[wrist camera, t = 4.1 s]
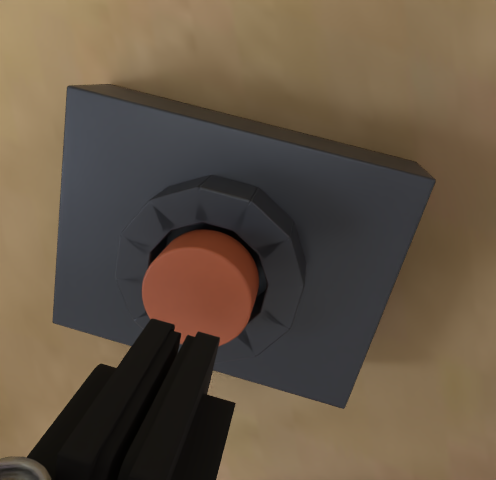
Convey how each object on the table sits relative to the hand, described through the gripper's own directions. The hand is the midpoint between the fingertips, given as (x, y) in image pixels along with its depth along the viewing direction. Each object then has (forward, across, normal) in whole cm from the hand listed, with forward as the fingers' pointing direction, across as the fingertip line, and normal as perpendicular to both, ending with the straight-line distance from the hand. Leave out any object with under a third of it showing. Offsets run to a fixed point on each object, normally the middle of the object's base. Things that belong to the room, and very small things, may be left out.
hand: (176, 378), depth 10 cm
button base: (+10, 0, 0) cm, 10 cm away
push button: (+5, +1, 0) cm, 5 cm away
